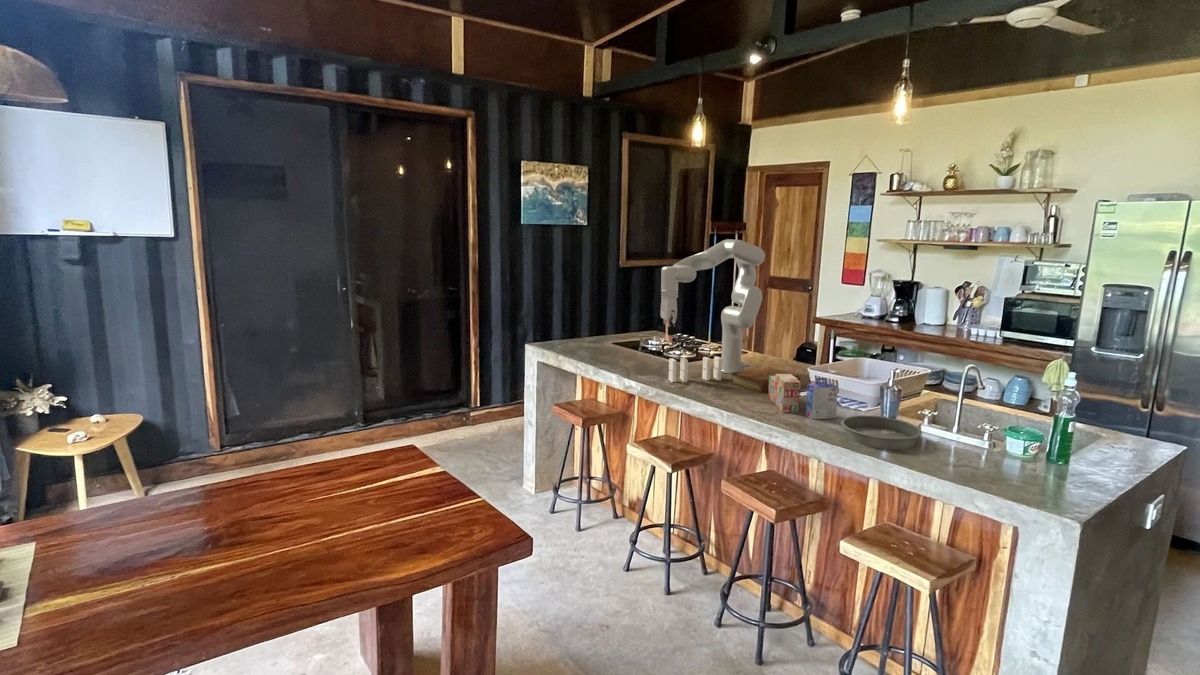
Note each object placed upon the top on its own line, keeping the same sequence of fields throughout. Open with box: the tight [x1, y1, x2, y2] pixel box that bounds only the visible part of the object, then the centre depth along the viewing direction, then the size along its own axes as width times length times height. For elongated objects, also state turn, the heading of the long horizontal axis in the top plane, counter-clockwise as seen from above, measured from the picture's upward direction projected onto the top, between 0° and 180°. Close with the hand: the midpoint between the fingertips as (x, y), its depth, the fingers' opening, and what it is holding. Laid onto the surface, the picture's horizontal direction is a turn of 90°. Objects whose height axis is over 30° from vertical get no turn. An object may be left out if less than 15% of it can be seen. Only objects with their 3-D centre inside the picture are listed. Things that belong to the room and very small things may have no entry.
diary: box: [730, 366, 801, 394], centre depth 278 cm, size 23×19×6 cm
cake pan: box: [840, 415, 923, 450], centre depth 210 cm, size 25×25×4 cm
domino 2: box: [701, 356, 712, 381], centre depth 286 cm, size 2×5×10 cm, turn 14°
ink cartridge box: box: [805, 377, 839, 420], centre depth 231 cm, size 10×6×14 cm, turn 99°
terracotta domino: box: [664, 320, 673, 343], centre depth 284 cm, size 2×5×10 cm, turn 13°
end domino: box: [713, 356, 723, 381], centre depth 287 cm, size 2×5×10 cm, turn 14°
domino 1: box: [679, 357, 689, 383], centre depth 283 cm, size 2×5×10 cm, turn 14°
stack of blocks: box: [767, 374, 802, 413], centre depth 247 cm, size 21×6×12 cm, turn 0°
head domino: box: [668, 358, 677, 383], centre depth 282 cm, size 2×5×10 cm, turn 14°
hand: (668, 333), depth 284 cm, fingers closed on terracotta domino, 4 cm apart
